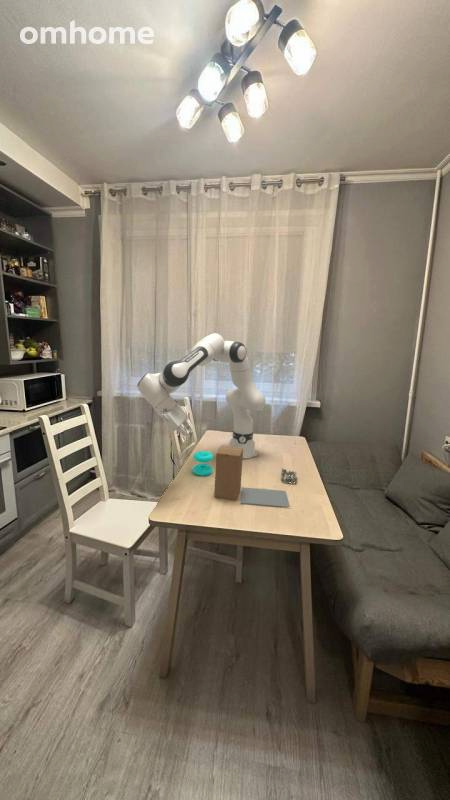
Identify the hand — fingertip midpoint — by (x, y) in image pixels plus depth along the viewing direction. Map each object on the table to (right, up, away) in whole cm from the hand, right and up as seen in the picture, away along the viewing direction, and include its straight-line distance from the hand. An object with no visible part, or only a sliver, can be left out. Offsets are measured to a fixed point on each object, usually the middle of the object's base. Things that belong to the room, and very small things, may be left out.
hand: (188, 432), depth 132 cm
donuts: (+4, -23, +24) cm, 34 cm away
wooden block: (+17, -28, +4) cm, 32 cm away
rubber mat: (+33, -29, +2) cm, 43 cm away
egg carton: (+47, -26, +22) cm, 58 cm away
